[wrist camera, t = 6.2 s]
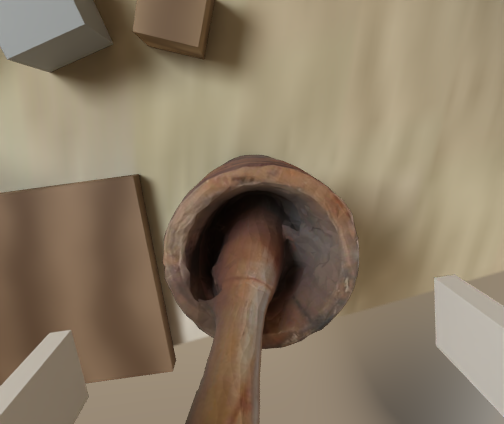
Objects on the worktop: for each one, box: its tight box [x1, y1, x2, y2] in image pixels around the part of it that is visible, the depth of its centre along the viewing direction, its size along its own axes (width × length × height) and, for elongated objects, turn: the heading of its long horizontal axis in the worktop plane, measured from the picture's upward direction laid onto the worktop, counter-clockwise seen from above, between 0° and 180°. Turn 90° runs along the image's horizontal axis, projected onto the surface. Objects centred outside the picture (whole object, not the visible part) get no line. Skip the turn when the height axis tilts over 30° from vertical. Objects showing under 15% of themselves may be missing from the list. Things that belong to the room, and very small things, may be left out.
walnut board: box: [0, 174, 176, 386], centre depth 29 cm, size 18×16×2 cm
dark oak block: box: [133, 0, 215, 59], centre depth 24 cm, size 4×4×4 cm
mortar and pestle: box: [162, 155, 359, 424], centre depth 19 cm, size 12×9×20 cm
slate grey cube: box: [0, 0, 113, 72], centre depth 23 cm, size 5×5×5 cm
